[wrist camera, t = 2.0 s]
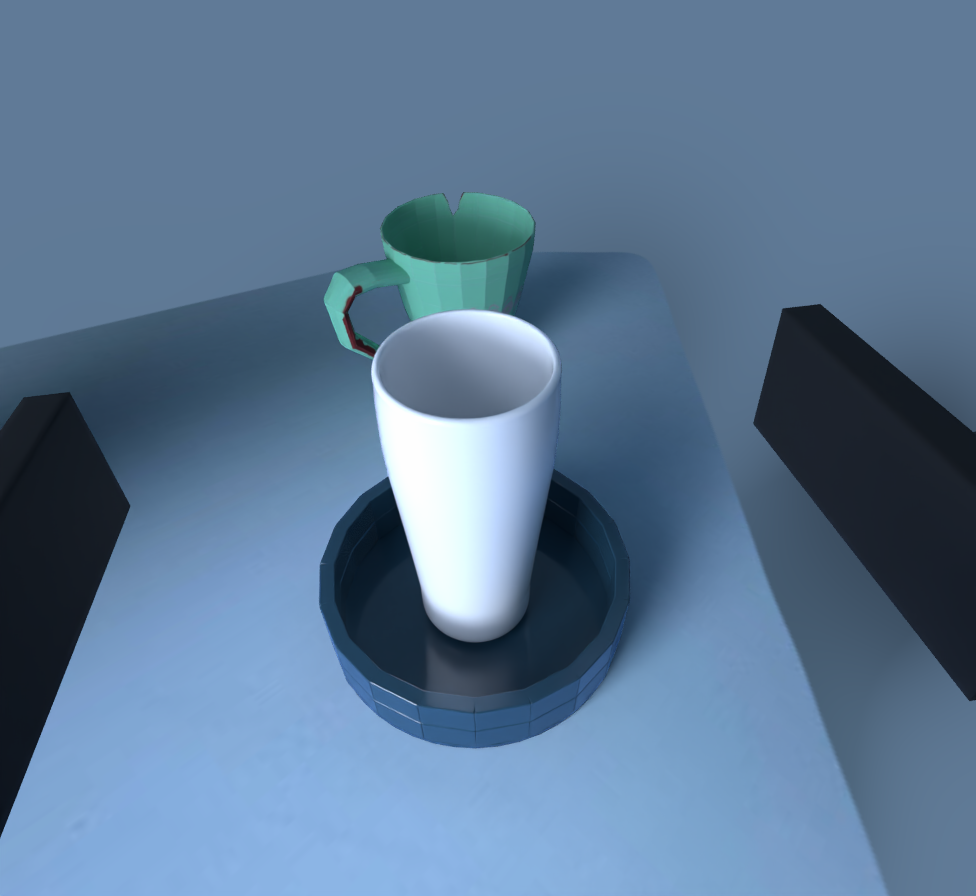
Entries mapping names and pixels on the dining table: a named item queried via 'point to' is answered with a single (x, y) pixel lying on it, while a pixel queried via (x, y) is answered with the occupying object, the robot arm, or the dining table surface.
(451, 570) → the drinking glass
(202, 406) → the dining table surface
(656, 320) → the dining table surface
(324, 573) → the round dark tray
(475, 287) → the mug
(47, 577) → the robot arm
